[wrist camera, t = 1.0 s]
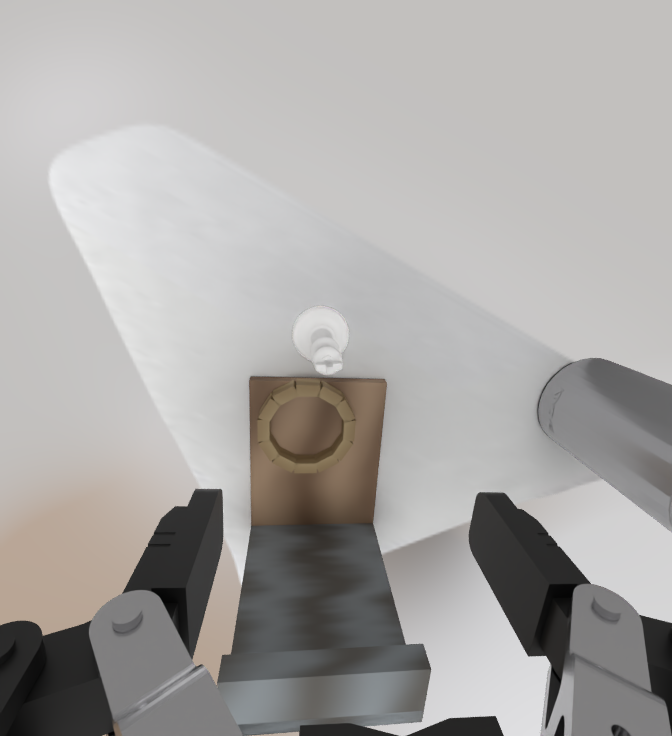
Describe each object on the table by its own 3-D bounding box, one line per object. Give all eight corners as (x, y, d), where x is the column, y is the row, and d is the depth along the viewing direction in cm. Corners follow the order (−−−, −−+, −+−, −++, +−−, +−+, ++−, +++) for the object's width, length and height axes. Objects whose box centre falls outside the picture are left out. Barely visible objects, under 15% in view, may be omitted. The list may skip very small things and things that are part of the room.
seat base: (384, 377, 35) (462, 496, 19) (370, 524, 40) (421, 722, 24) (250, 374, 34) (207, 500, 18) (252, 527, 39) (220, 737, 22)
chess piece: (289, 307, 33) (287, 334, 23) (348, 304, 33) (368, 329, 24) (294, 363, 34) (293, 409, 25) (349, 359, 35) (369, 404, 25)
